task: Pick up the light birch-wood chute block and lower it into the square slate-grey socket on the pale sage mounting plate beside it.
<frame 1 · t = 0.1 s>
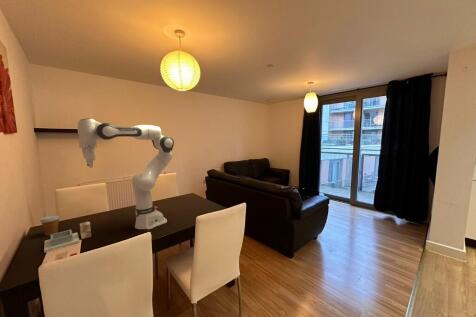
hand: (90, 166, 124), 48 cm above the table, fingers open, 8 cm apart
chute block: (86, 236, 134), on the table
chute mount: (62, 242, 125), on the table
disposable coffee cup: (51, 233, 138), on the table
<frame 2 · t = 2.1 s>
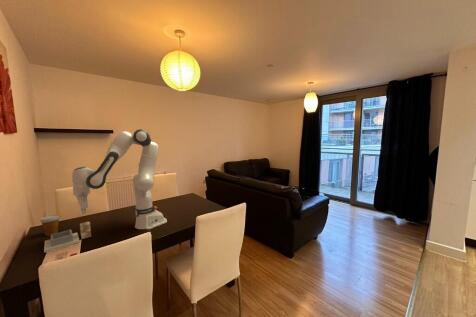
hand: (83, 211, 132), 17 cm above the table, fingers open, 8 cm apart
nothing on the table moved.
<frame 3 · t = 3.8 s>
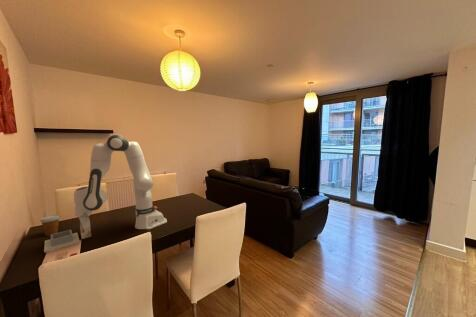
hand: (85, 231, 133), 4 cm above the table, fingers closed on chute block, 5 cm apart
chute block: (86, 236, 133), on the table, touching gripper
everything else where it was.
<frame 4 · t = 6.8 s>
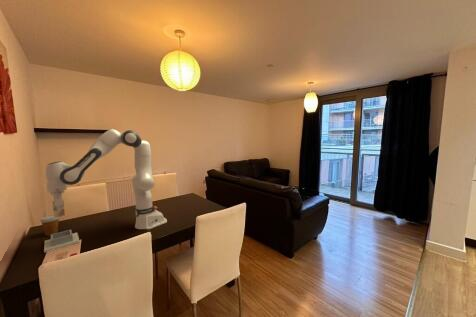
hand: (58, 209, 123), 22 cm above the table, fingers closed on chute block, 5 cm apart
chute block: (59, 215, 124), point 18 cm above the table, touching gripper
everything else where it was.
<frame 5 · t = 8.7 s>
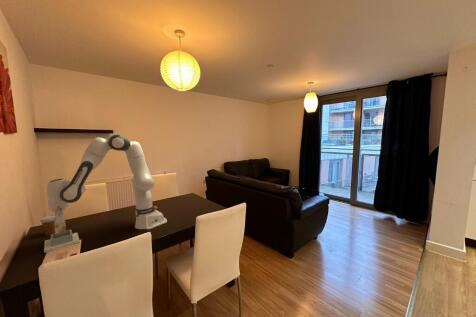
hand: (60, 226, 124), 11 cm above the table, fingers closed on chute block, 5 cm apart
chute block: (60, 231, 124), point 7 cm above the table, touching gripper
everything else where it was.
when the fingers open (7 cm above the table, at t = 10.0 s): chute block drops 1 cm, resting on chute mount.
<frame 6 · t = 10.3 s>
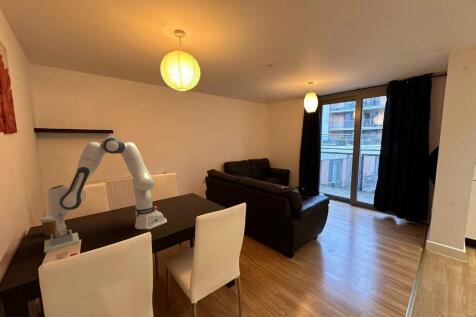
hand: (61, 232, 125), 7 cm above the table, fingers open, 8 cm apart
chute block: (62, 240, 125), point 1 cm above the table, touching chute mount
everything else where it was.
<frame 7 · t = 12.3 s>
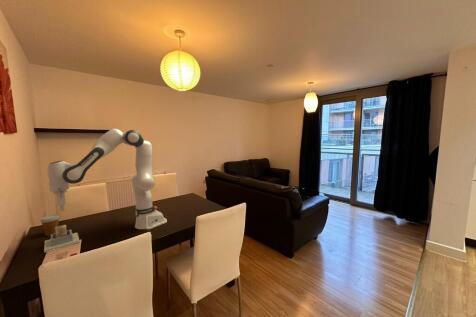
hand: (62, 208, 123), 22 cm above the table, fingers open, 8 cm apart
nothing on the table moved.
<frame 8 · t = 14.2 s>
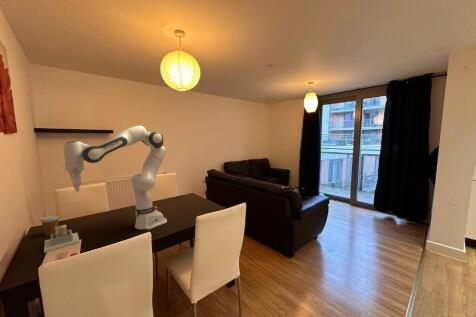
hand: (76, 189, 122), 34 cm above the table, fingers open, 8 cm apart
nothing on the table moved.
at the end: chute block 0.0 cm off-centre on the chute mount, point 1.5 cm above the chute mount's base; chute block tilted 0°; the gripper is holding nothing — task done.
